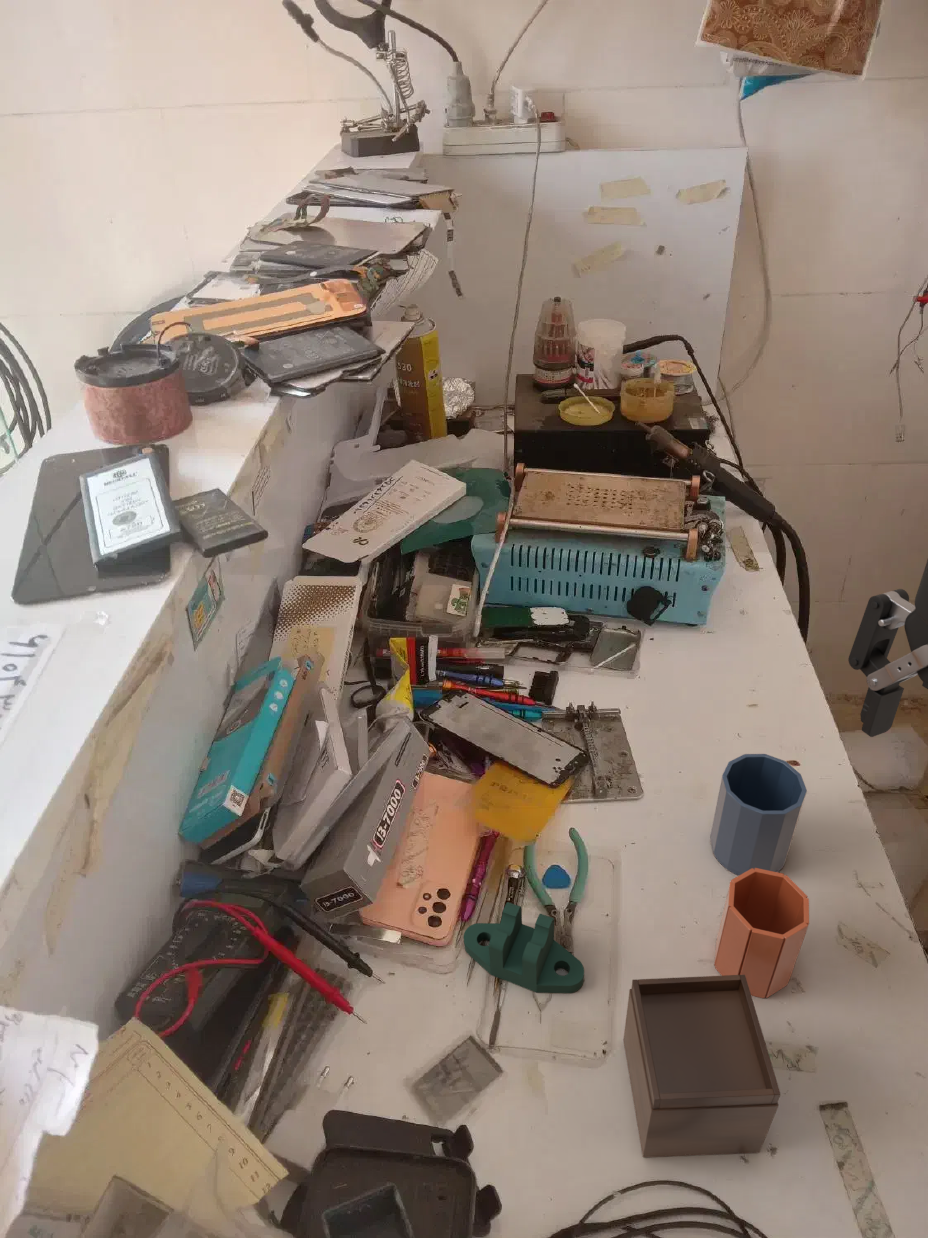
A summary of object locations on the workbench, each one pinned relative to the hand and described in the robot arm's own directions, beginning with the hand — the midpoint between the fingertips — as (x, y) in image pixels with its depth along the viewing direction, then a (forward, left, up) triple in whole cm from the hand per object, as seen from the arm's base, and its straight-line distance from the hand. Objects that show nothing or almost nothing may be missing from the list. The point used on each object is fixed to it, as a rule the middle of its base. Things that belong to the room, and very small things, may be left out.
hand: (926, 768), depth 56 cm
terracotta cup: (+4, +7, -24) cm, 25 cm away
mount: (+13, +24, -24) cm, 37 cm away
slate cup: (+13, -1, -24) cm, 27 cm away
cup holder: (-2, +19, -24) cm, 31 cm away
